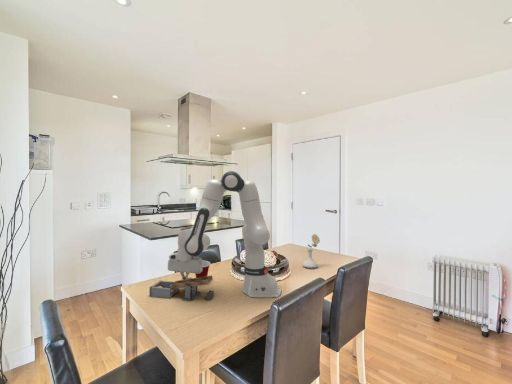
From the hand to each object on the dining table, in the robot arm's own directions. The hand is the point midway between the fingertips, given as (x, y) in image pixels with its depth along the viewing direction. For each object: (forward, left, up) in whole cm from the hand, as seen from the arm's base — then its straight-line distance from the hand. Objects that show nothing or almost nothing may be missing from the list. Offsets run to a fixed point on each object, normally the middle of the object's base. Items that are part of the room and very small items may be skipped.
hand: (184, 279), depth 147 cm
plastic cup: (-4, -14, -6) cm, 16 cm away
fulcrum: (-7, +7, -6) cm, 12 cm away
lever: (-8, +3, 0) cm, 8 cm away
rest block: (-18, +7, -6) cm, 20 cm away
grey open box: (+9, +7, -6) cm, 13 cm away
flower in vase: (-72, -60, -6) cm, 94 cm away
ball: (+12, +7, -4) cm, 14 cm away
